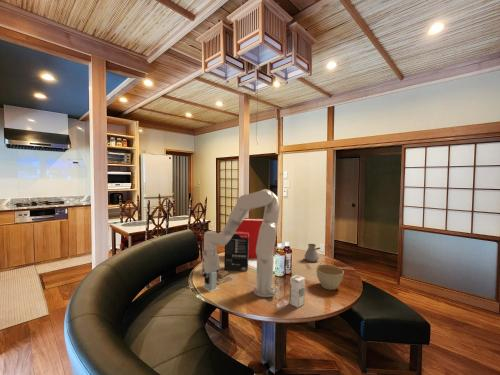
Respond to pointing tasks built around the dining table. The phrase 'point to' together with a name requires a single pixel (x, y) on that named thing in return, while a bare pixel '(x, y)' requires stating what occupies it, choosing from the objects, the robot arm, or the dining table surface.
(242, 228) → the book
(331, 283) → the planter bowl
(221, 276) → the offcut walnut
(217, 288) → the mat
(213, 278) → the panel
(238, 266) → the graphics card box
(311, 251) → the coffee pot
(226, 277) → the offcut oak
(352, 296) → the dining table surface
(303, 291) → the syrup box
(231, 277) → the rack
